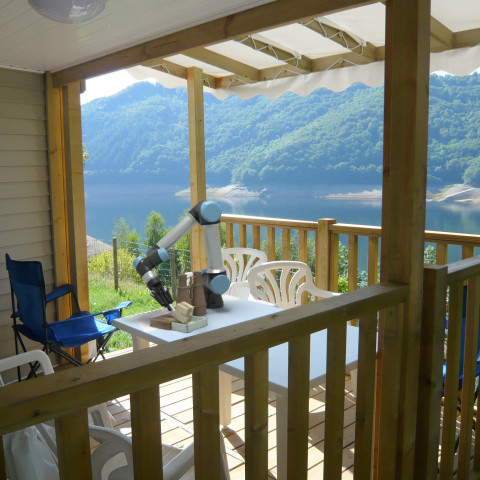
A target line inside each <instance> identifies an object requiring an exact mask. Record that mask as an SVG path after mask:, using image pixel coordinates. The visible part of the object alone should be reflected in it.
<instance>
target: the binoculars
mask: <svg viewBox="0 0 480 480" xmlns="http://www.w3.org/2000/svg"><path fill="white" fill-rule="evenodd" d="M191 273H192V275H190V276H189V277H188V273H178V274H177V277H178V278H177V281H178V286H177V287H176V290H177V291H176V301H175V305H176V304H178V303H181V302H186V303H188V304H189V305H191V306H193V307H194V309H193V314H192V315H193V316H197V317H203V316H206V315H207V308H206V305H207V303H206V301H205V295H204V289H203V283H201V277H202V275H201V273H202V272H201V270H195V271H192V272H191ZM188 279H189V285H188ZM192 280H193V281H192ZM174 307H175V309H176V306H174Z"/></svg>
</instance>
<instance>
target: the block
mask: <svg viewBox="0 0 480 480" xmlns="http://www.w3.org/2000/svg"><path fill="white" fill-rule="evenodd" d="M175 307H176V309H175V313H174V318H175V319H177V320H179V321H180V322H182V323H186V322H188V321H191V318H192V314H193V309H194V307H193V306H191V305H189V304H188V303H186V302H181V303H178V304H176V303H175Z"/></svg>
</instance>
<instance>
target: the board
mask: <svg viewBox="0 0 480 480" xmlns="http://www.w3.org/2000/svg"><path fill="white" fill-rule="evenodd" d="M192 316H193V315H192ZM171 322H174V323H179V324H185V323H182V322H180V321H179V320H177V319H175V318H174V317H173V315H172V314H171V313H170V312H167V313H164V314H161V315H158V316H155V317H152V318H150V319H149V324H150V325H149V326H150V327H152V328H158V329H162V330H168V331H173V330H172V327H171ZM188 322H190V321H188ZM186 323H187V322H186Z"/></svg>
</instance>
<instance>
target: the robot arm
mask: <svg viewBox="0 0 480 480" xmlns="http://www.w3.org/2000/svg"><path fill="white" fill-rule="evenodd" d="M222 211H223V210H222V207H221V206H220V204H219V203H218V202H217V201H214V200H206V199H205V200H201V201H198V202H197V203H196V204H195V205H194V206H192V208H191V209H189V211H188V212H186V216H184V217H183V218H182V219H181V220H180V221H179V222H178V223H177V224H176V225H175V226H174V227H173V228H172V229H171V230H169V231H168V233H166V234H165V235H164V236H163V237H161V239H160V240H159V241H158V242H156V243H155V245H153V246H152V247H150V248H148V249H147V250H146V251H145V256H146V257H144V256H142V255H140V256H137V257H136V258H134V259H133V260H132V266H133V268H134V269H135V271H136V272H137V274H138V276H139V277H140V278H141V279H142V281H143V283H144V284H145V285H146V287H147V288H148V290H149V291H151V292H150V294H149V296H150V297H152V298H153V299H154V300H155V301H156V302H157V303H158V304H159V305H160V306H161V307H162V308H164V309H167V310H168V313H171V314H172V315H173V317H174V313H175V307H176V306H174V304H173V303H174V299H173V297H172V294H171V292H170V288H169V287H164V285H162V281H161V279H160V278H159V277H158V276H157V274H156V272H155V271H154V270H153V269H155V268H157V267H159V266H160V265H162V264H163V263H165V262H166V261H168V260H169V259H170V255H169V253H168V251H169V250H170V249H171V248H172V247H173V246H175V244H176V243H178V242H179V241H180V240H181V239H182V238H183V237H184V236H185V235H186V234H187V233H188V232H190V231H191V230H192V229H193V228H194V227H196V226H198V225H200V227H202V228H203V234H204V235H203V236H204V242H205V250H206V259H207V260H206V261H207V265H208V266H207V267H208V268H203V269H201V270H200V271H201V272H202V273H201V275H202V277H201V283H203V289H204V295H205V301H206V303H207V305H206V309H218V308H222V307H224V305H225V303H224V301H225V300H223V296H222V295H223V294H225V293H226V292H227V293H228V291H229V289H230V287H231V280H230V278H229V277H228V273H227V268H226V267H224V262H223V261H224V260H223V254H222V245H221V238H220V237H221V236H220V229H219V226H220V224H221V217H222Z"/></svg>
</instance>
